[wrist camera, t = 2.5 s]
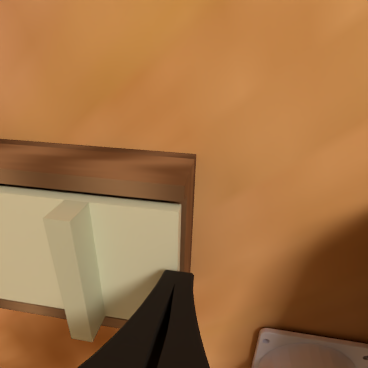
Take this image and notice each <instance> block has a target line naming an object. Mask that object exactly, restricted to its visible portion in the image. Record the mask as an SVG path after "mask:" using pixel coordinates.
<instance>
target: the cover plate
mask: <svg viewBox="0 0 368 368" xmlns="http://www.w3.org/2000/svg"><path fill="white" fill-rule="evenodd" d="M180 237H181V204H174V203H164V202H154V201H145V200H135V199H125V198H116V197H106V196H97V195H87V194H77V193H68V192H58V191H49V190H39V189H29V188H20V187H10V186H0V299H6V300H13V301H19V302H25V303H31V304H37V305H43V306H49V307H55V308H61V309H64V310H65V314H66V318H67V322H68V326H69V330H70V335H71V338H72V339H78V340H83V341H89V342H93V340H94V338H95V336H96V334H97V332H98V330H99V328H100V326H101V324H102V322H103V320H104V318H105V316H109V317H115V318H121V319H127V320H129V319H130V318H131V316H132V315H133V314H134V313H135V312H136V310H137V309H138V308H139V307H140V306H141V304H142V303H143V302H144V300H145V299H146V298H147V296H148V295H149V294H150V292H151V291H152V290H153V288H154V287H155V285H156V284H157V282H158V281H159V279H160V277H161V276H162V274H163V272H164V271H165V270H173V271H180Z"/></svg>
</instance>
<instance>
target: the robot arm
mask: <svg viewBox="0 0 368 368" xmlns="http://www.w3.org/2000/svg"><path fill="white" fill-rule="evenodd" d="M193 280H194V275H193V274H192V273H188V272H181V271H173V270H165V271H164V272H163V274H162V276H161V277H160V279H159V281H158V282H157V284H156V285H155V287H154V288H153V290H152V291H151V292H150V294H149V295H148V296H147V298H146V299H145V300H144V302H143V303H142V304H141V306H140V307H139V308H138V309H137V310H136V312H135V313H134V314H133V315H132V316H131V318H130V319H129V320H128V321H127V322H126V323H125V324H124V325H123V326H122V328H121V329H120V330H119V331H118V332H117V333H116V334H115V335H114V336H113V337H112V338H111V339H110V340H109V341H108V342H107V343H105V344H104V345H103V346H102V347H101V348H100V349H99V350H98V351H97V352H96V353H95V354H93V355H92V356H91V357H90V358H89V359H88V360H86V361H85V362H84V363H83V364H81V365H80V366H79V367H78V368H210V367H209V363H208V360H207V357H206V354H205V350H204V347H203V343H202V340H201V336H200V331H199V327H198V322H197V317H196V311H195V305H194V297H193ZM251 368H368V344H365V343H359V342H353V341H347V340H340V339H334V338H328V337H321V336H315V335H309V334H302V333H296V332H290V331H284V330H277V329H271V328H263V329H261V330H260V332H259V336H258V340H257V345H256V349H255V353H254V358H253V362H252V366H251Z"/></svg>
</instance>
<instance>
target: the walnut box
mask: <svg viewBox="0 0 368 368" xmlns="http://www.w3.org/2000/svg"><path fill="white" fill-rule="evenodd" d="M195 167H196V154H185V153H172V152H160V151H147V150H134V149H122V148H109V147H96V146H83V145H71V144H58V143H45V142H32V141H20V140H7V139H0V186H10V187H20V188H29V189H39V190H49V191H58V192H68V193H77V194H87V195H97V196H106V197H116V198H125V199H135V200H145V201H154V202H164V203H174V204H181V237H180V271H181V272H188V273H190V265H191V246H192V226H193V206H194V187H195ZM0 308H3V309H9V310H15V311H21V312H27V313H33V314H38V315H44V316H50V317H56V318H62V319H67V318H66V314H65V310H64V309H61V308H55V307H49V306H43V305H37V304H31V303H25V302H19V301H13V300H6V299H0ZM127 321H128V320H127V319H121V318H115V317H109V316H105V318H104V320H103V322H102V324H101V325H103V326H109V327H114V328H120V329H121V328H122V326H123V325H124V324H125V323H126V322H127Z"/></svg>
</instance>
